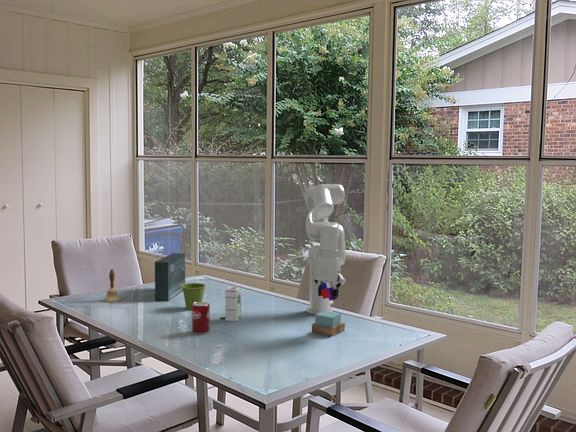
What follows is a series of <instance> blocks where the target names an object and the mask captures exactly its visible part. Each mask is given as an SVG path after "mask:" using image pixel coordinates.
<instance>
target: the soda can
mask: <svg viewBox="0 0 576 432" xmlns="http://www.w3.org/2000/svg"><path fill="white" fill-rule="evenodd" d="M210 306H211V305H210V303H209V302H207V301H202V302H196V303H193V304H192V309H191V331H192V333H193V334H195V335H205V334H208V333H209V332H210V329H211V328H210V326H211V325H210V321H211V320H210V317H211V315H210V314H211V313H210V312H211V311H210V310H211V307H210Z"/></svg>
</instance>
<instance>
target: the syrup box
mask: <svg viewBox="0 0 576 432" xmlns="http://www.w3.org/2000/svg"><path fill="white" fill-rule="evenodd" d="M241 296H242V294H241V286H228V287H226V288H225V289H224V310H225V312H224V313H225V314H224V316H225V321H229V322H238V321H239V320H241V318H242V303H241V302H242V298H241Z"/></svg>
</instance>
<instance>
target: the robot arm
mask: <svg viewBox="0 0 576 432" xmlns="http://www.w3.org/2000/svg"><path fill="white" fill-rule="evenodd" d="M345 196H346V193H345V188H344V187H343V185H342V184H340V183H322V184H321V183H320V184H317V185H315V186H310V187H307V188H306V189H305V192H304V201H305V205H306V207H307V210H308V213H307V216H306V220H305V227H306V235H307V237H308V239H310V240H311V242H313V243H314V244H319V245H313V246H311V247H310V248H309V250H308V253H307V256H308V263H309V307H307V308H306V310H305V311H306V313H308V314H310V315H316V314H318V313H320V312H322V311H329V312H334V309H333V308H332V307H331V305H333V304H334V300H331V301H329V298H326V299H323V297H322V294H321V291H322V290H324V288H323V284H322V283H325V282H326V285H327V288H330V287H331V283H332V287H333V299H335V298H339V288H340V287H341V286H343V285H344V284H345V282H346V280H345V278H344V276H342V269H341V266H343V265H345V263H346V257H347V256H346V240H345V239H346V237H345V229H344V227H343V226H342V224H339V223H338V222H333V221H329V216H331V215H332V214H333V213H334V209H335V207H334V205H340V204H342V203H343V202H344V201H345Z"/></svg>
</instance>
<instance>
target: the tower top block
mask: <svg viewBox="0 0 576 432" xmlns="http://www.w3.org/2000/svg"><path fill="white" fill-rule="evenodd" d="M314 315H315V317H314V318H315V321H314V323H315V324H316V325H322V326H329V327H334V326H336V325H337V324H339V323H341V322H342V317H341V316H342V312H337V311H336V312H335V311H333V312H329V311H322V312H320V313H318V314H314Z"/></svg>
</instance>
